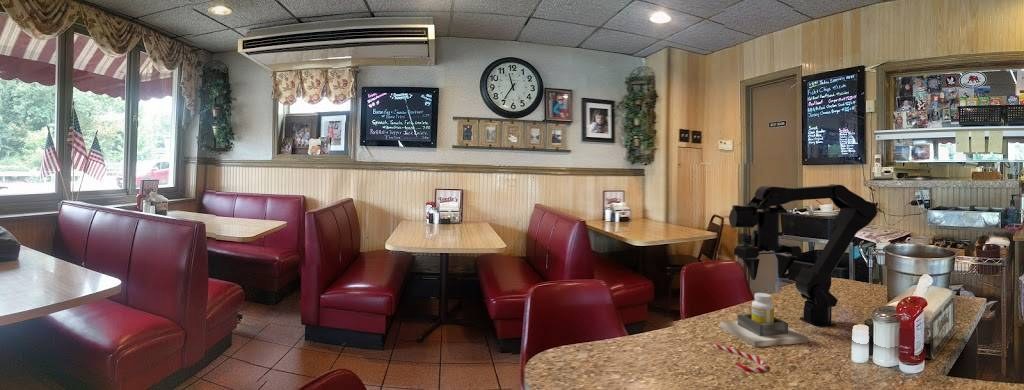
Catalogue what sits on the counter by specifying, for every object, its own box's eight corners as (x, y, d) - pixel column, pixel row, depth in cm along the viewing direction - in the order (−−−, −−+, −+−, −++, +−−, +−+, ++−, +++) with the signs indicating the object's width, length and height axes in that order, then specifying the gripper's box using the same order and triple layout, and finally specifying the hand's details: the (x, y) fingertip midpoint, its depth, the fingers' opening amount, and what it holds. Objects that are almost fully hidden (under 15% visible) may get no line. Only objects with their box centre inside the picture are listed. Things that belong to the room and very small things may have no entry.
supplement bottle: (767, 325, 120) (768, 292, 119) (777, 333, 114) (778, 297, 114) (747, 325, 120) (748, 291, 119) (757, 332, 115) (757, 297, 114)
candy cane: (722, 341, 111) (776, 365, 97) (722, 346, 111) (776, 370, 97) (700, 346, 108) (753, 371, 94) (700, 351, 108) (753, 377, 94)
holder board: (768, 323, 125) (768, 308, 125) (808, 342, 112) (808, 325, 111) (719, 327, 123) (720, 312, 123) (754, 347, 109) (755, 330, 109)
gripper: (774, 223, 135) (773, 271, 136) (722, 225, 132) (721, 274, 133) (803, 228, 124) (802, 279, 125) (747, 230, 121) (746, 283, 122)
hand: (766, 278), depth 127 cm, fingers open, 9 cm apart
